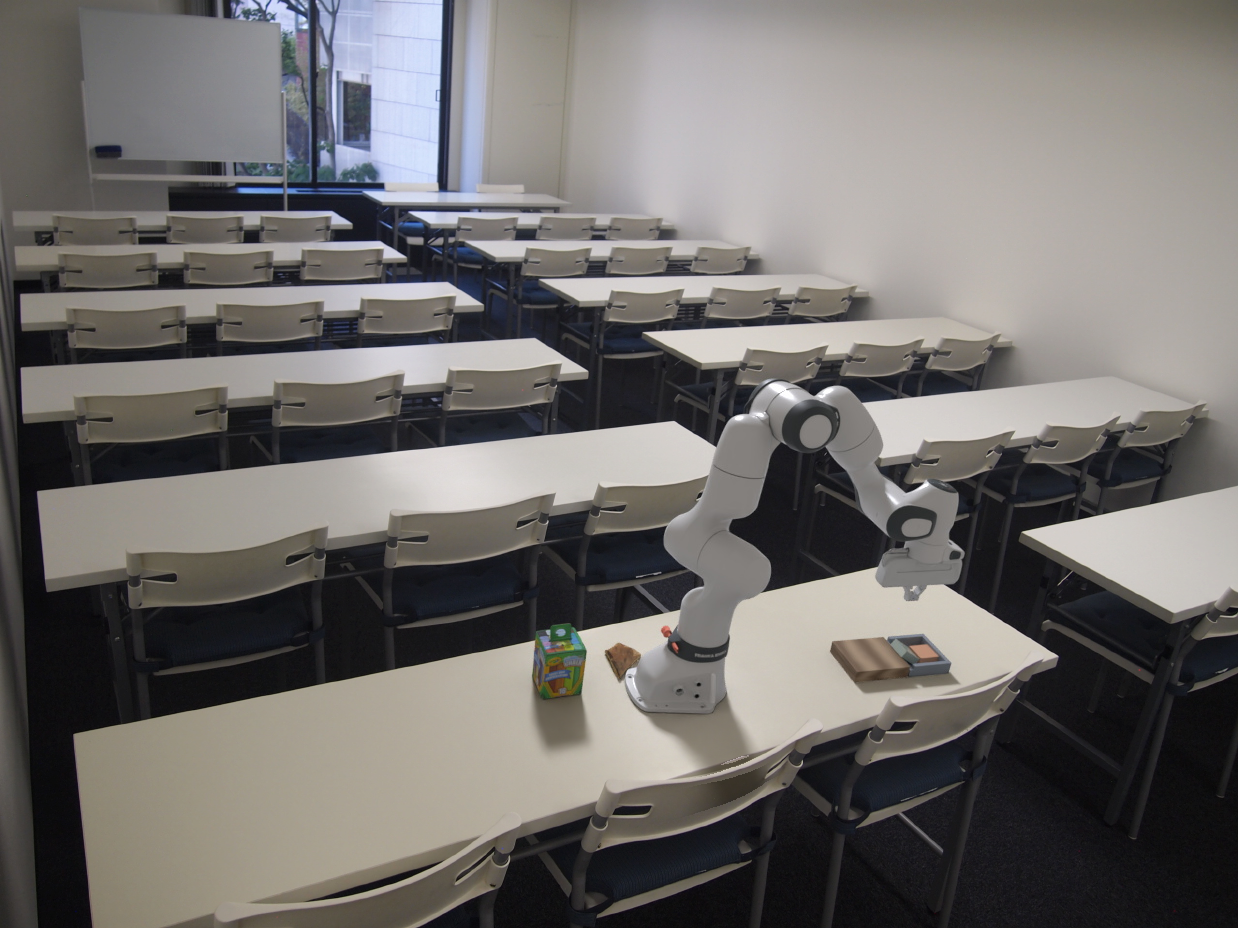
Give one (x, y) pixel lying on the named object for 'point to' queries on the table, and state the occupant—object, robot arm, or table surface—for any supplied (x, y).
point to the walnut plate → (869, 659)
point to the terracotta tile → (924, 653)
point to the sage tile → (904, 651)
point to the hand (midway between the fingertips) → (910, 599)
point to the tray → (923, 668)
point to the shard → (621, 658)
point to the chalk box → (559, 661)
